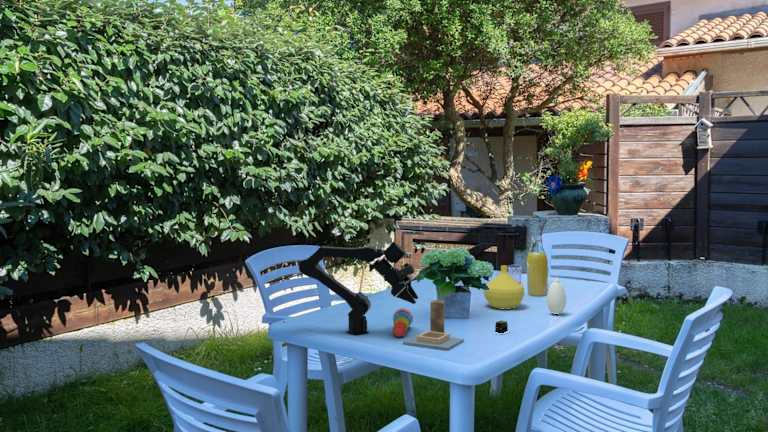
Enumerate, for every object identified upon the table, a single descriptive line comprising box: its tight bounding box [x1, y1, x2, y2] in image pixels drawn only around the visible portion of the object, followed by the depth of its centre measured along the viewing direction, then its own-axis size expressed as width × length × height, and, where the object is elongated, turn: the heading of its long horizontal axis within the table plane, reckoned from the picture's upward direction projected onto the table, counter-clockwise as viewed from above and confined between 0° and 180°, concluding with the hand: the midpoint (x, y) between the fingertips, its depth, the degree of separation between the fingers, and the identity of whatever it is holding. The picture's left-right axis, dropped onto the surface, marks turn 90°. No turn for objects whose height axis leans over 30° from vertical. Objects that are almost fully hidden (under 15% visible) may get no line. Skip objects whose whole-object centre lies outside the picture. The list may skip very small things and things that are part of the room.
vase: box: [483, 264, 525, 309], centre depth 309 cm, size 18×18×19 cm
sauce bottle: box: [546, 273, 567, 313], centre depth 292 cm, size 8×8×18 cm
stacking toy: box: [392, 307, 414, 338], centre depth 263 cm, size 8×8×19 cm
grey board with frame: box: [402, 330, 465, 351], centre depth 247 cm, size 18×14×3 cm
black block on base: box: [494, 320, 509, 333], centre depth 263 cm, size 12×7×5 cm, turn 137°
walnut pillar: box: [429, 299, 445, 333], centre depth 258 cm, size 5×5×13 cm
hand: (416, 300), depth 259 cm, fingers open, 9 cm apart
